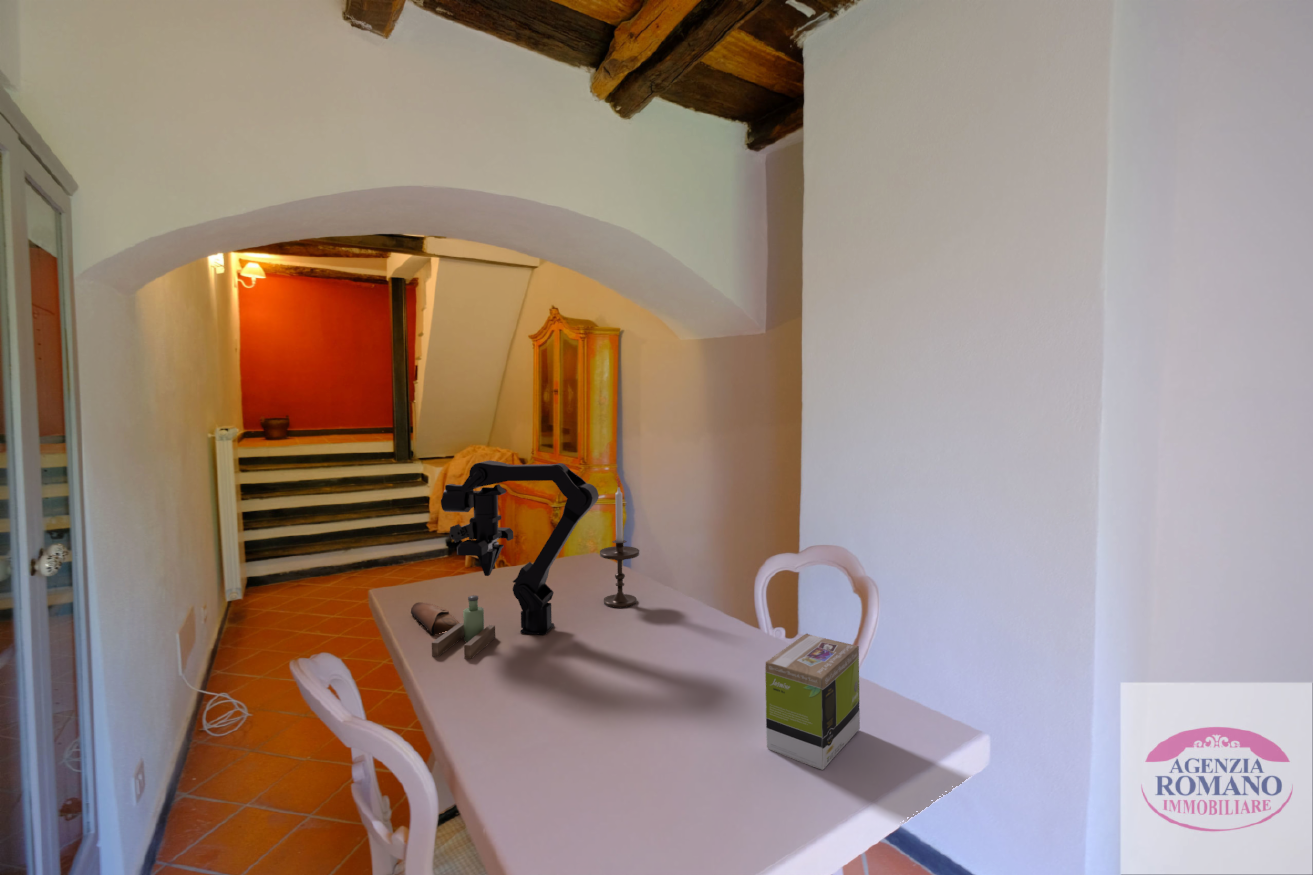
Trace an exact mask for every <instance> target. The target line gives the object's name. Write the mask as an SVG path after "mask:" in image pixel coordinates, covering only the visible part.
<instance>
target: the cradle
mask: <svg viewBox="0 0 1313 875" xmlns="http://www.w3.org/2000/svg"><path fill="white" fill-rule="evenodd" d="M462 639H464V622H459V623H458V624H457V625H456V626H454V627H453V628H451V629H450V630H449V631H447V632H446V633H443V634H441V635H440V636H439V637H437V638H436V639H434V640H433V641H432V642H431V656H432V657H440V656H441V655H442V654H444V653H445V652H447V651H448V650H449V649H450V648H451V647H453V646H454V645H455V644H456V643H458V642H460V641H461V640H462ZM495 639H496V625H495V624H488V625H487V626H486V627H484V630H482V631H481V632H480V633H479V634H477V635H476V636H475V637H473V638H472V639H471V640H470V641H468V642H465V644H464V645H463V650H464V652H463V654H464V655H463V656H464V659H466V660H471V659H473V658H474V657H475V656H476V655H478V654H479V653H480V652H481V651H482V650H483V649H485V648H486V645H487V644H488V645H490V643H491V642H492V641H494V640H495ZM457 641H458V642H457ZM453 644H454V645H453ZM452 645H453V646H452ZM488 645H487V646H488Z"/></svg>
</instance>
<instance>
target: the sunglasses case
mask: <svg viewBox="0 0 1313 875" xmlns="http://www.w3.org/2000/svg"><path fill="white" fill-rule="evenodd" d="M410 609H411V610H410V614H411V616H412V617H414V618H415V619H416V620H417V621H419V622H420V623H421V624H422V625H423V627H424V628H425V629H426V630H427V631H428V632H429V633H430V634H431V635H433V636H436V635H435V634H438V635H440V634H439V633H442V632H445V631H449V630H450V629H451V628H453V627H454V626H456V625H457V624H458V623H460V621H459V620H458V619H457V618H456V617H454V615H453V614H451V613H450V612H449V610H448V609H447V608H444V607H442V606H438V605H435V604H433V603H428V602H419V601H418V602H415V603H414V604H413V605H412V607H411V608H410Z"/></svg>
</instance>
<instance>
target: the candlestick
mask: <svg viewBox="0 0 1313 875" xmlns="http://www.w3.org/2000/svg"><path fill="white" fill-rule="evenodd" d="M615 480H616V481H617V482H616V483H617V491H616V492H615V540H613V541H612V542H611V543H614V544H615V546H608V547H604V548H602V549H600V550H599V556H600V558H602V559H606V560H611V561H612V560H614V561H616V563H617V567H616V568H617V569H616V570H617V571H616V573H615V574H614V578H615V579H616V583H615V586H616V587H617V593H615V594H611V595H608V596H606V597H604V598H603V605H604V606H606V607H609V608H614V609H623V608H630V607H633V606H635V605H636V604H637V597H636V596H635V595H633V594H627V593H624V592H623V587H624V586H625V583H624V582H623V580H624V579H625V577H626V574H625V573H623V561H626V560H631V559H634V558H637V557H638V556H640V549H639V548H637V547H635V546H625V545H624V543H627V541H628V540H624V527H623V525H624V524H623V522H624V521H623V520H624V518H623V508H624V507H623V506H624V504H623V492H621V488H620V487H621V481H620V480H619V476H617V478H616V479H615Z"/></svg>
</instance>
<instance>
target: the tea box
mask: <svg viewBox="0 0 1313 875" xmlns="http://www.w3.org/2000/svg"><path fill="white" fill-rule="evenodd" d="M859 647H860V646H859V645H856V644H851V643H847V642H842V641H838V640H834V639H831V638H830V639H829V638H826V637H823V636H822V637H821V636H817V635H812V634H808V633H805V634H803V635H802V636H801V637H799V638H798V639H796V640H795V641H793V642H792V643H791V644H789V645H788V646H786V647H785V648H783V649H782V650H780V651H779V652H778V653H776V654H775V655H773V656H772V657H771V658H770V659H768V660H766V661H765V667H764V668H765V670H764V671H765V672H764V675H765V676H764V677H765V719H766V721H765V722H766V724H765V735H766V736H765V738H766V748H767V749H768V750H770V751H771V752H772V751H773V752H775V753H777V754H779V755H782V756H785V757H788V758H790V759H792V760H794V761H796V762H799V763H802V764H805V765H807V766H810V767H813V768H816V769H818V770H821V771H823V770H824V769H826V767H827V766H828V765H829V763H830V762H831V761H832V760H833V759H834V758H835V757H836V756H837V755H838V754H839V752H840V751H841V750H842V749H843V748H844V747H845V746H846V745H847V743H849V741H850V740H851V739H852V738H853V737H854V736H855V735H856V733H857V732H859V730H860V729H861V726H860V725H861V722H860V719H861V717H860V714H861V713H860V655H859V654H860V652H859V651H860V650H859V649H860V648H859Z"/></svg>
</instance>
